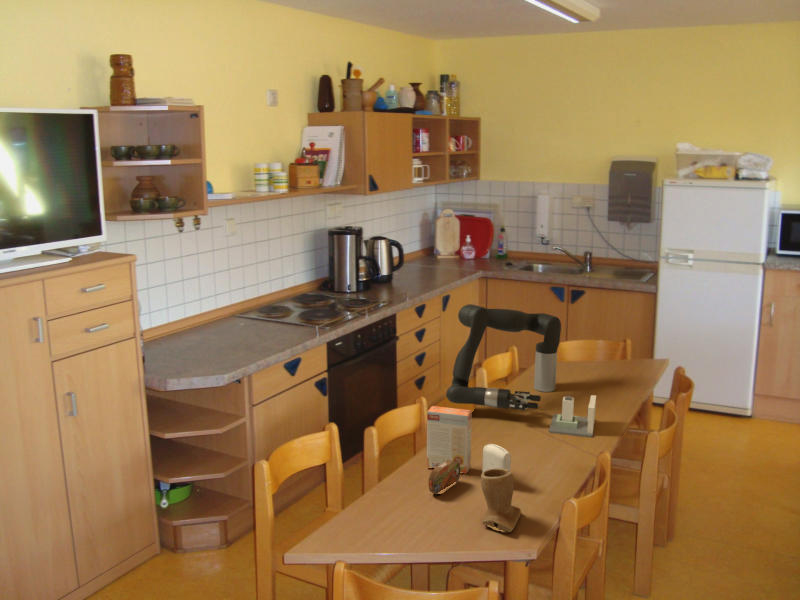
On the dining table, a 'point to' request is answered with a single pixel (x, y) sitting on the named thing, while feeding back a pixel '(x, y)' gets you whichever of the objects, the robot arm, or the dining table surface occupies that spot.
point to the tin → (444, 476)
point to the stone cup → (499, 499)
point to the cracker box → (449, 437)
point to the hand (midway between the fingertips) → (539, 402)
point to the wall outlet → (576, 423)
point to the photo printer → (496, 457)
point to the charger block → (567, 408)
